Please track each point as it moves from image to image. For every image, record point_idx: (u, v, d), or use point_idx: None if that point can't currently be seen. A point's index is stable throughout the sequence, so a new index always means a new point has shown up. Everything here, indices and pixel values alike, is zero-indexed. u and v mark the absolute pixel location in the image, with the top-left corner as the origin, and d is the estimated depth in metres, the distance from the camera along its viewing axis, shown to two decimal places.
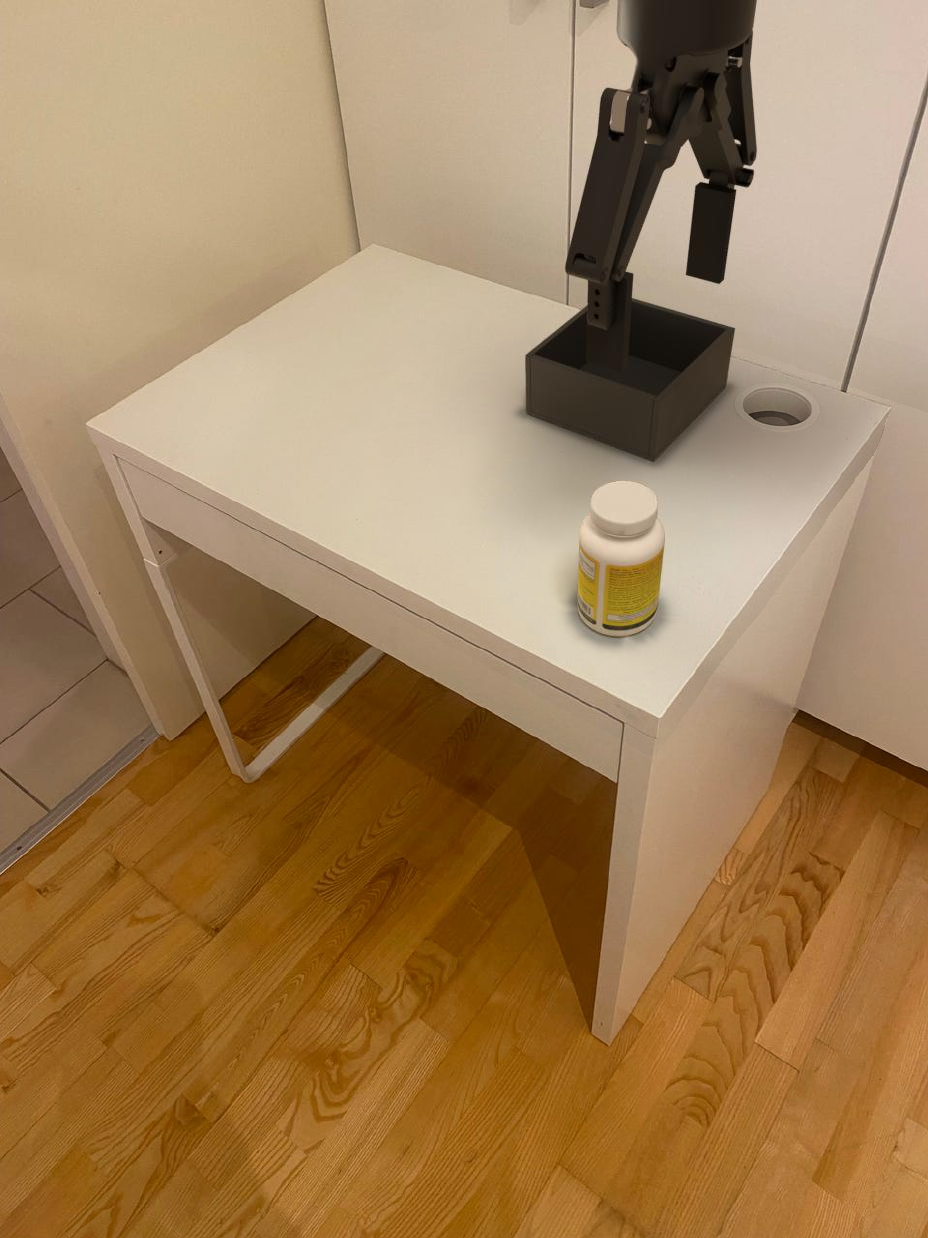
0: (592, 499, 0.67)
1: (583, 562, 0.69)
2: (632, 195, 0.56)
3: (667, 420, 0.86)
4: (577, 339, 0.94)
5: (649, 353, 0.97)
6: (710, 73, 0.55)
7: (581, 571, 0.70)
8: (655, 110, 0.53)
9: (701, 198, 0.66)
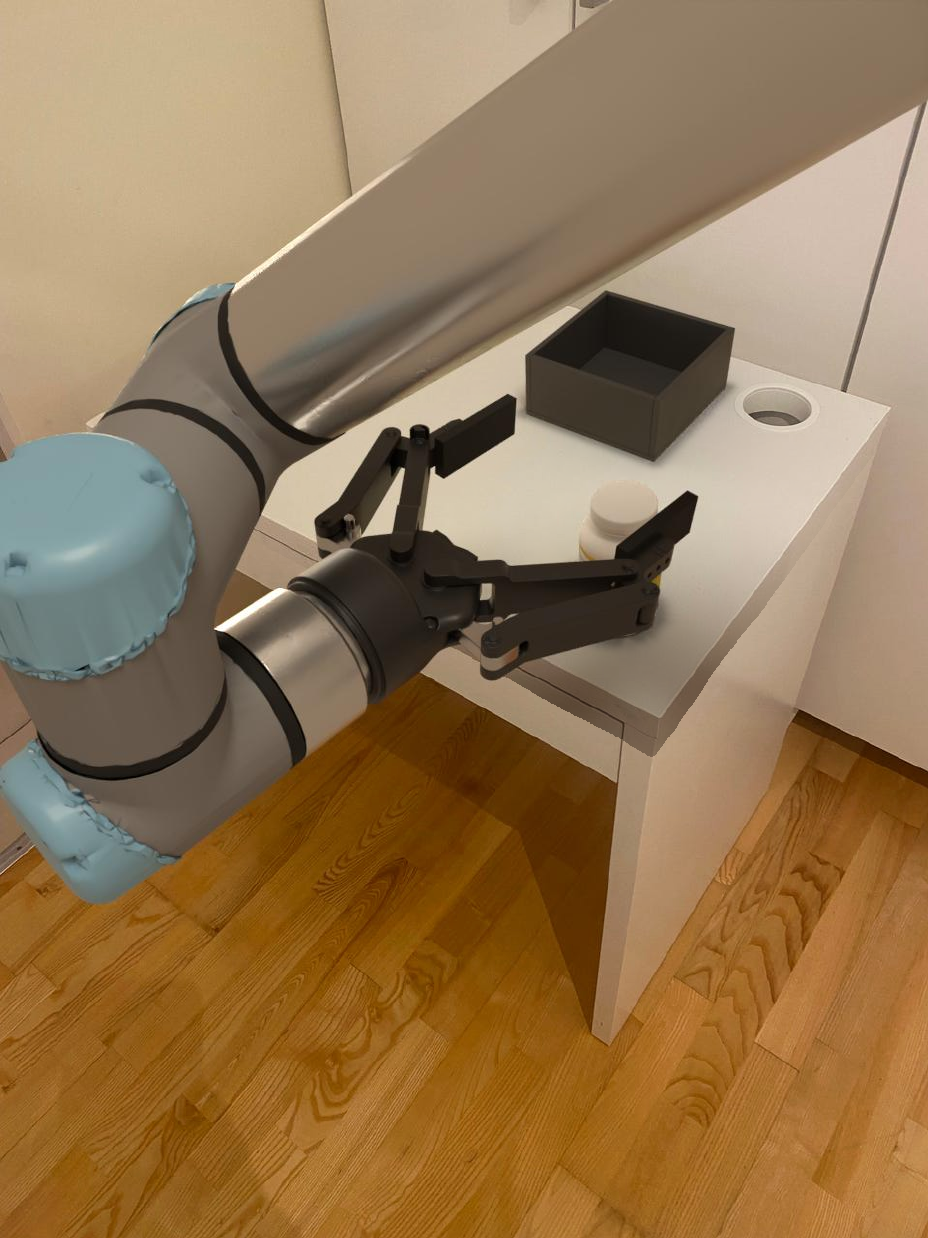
0: (592, 499, 0.67)
1: None
2: (551, 589, 0.49)
3: (667, 420, 0.86)
4: (577, 339, 0.94)
5: (649, 353, 0.97)
6: (395, 558, 0.49)
7: None
8: (473, 612, 0.48)
9: (452, 466, 0.58)
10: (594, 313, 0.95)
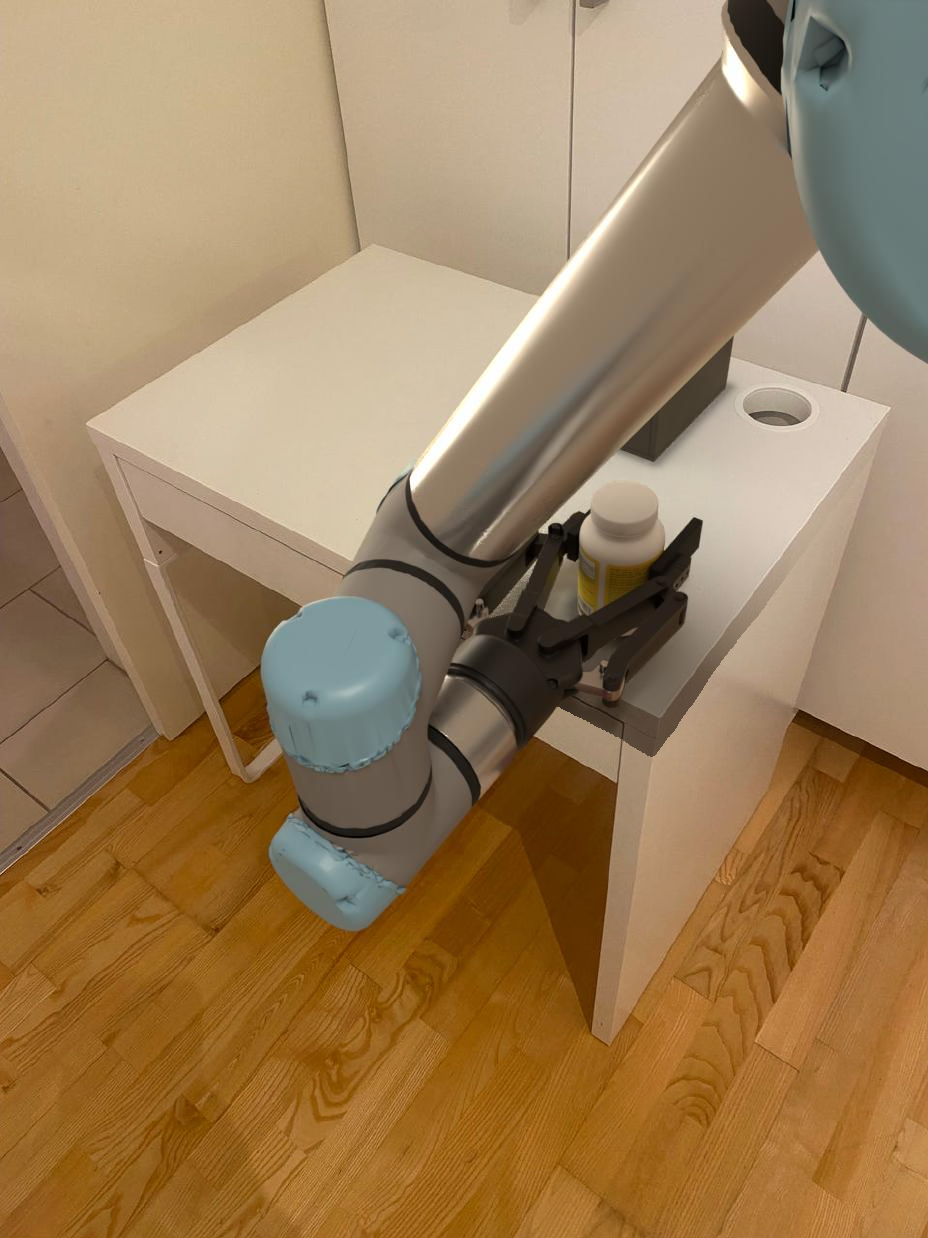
0: (592, 499, 0.67)
1: (583, 562, 0.69)
2: (621, 620, 0.65)
3: (667, 420, 0.86)
4: None
5: None
6: (509, 634, 0.64)
7: (581, 571, 0.70)
8: (582, 670, 0.62)
9: None
10: None
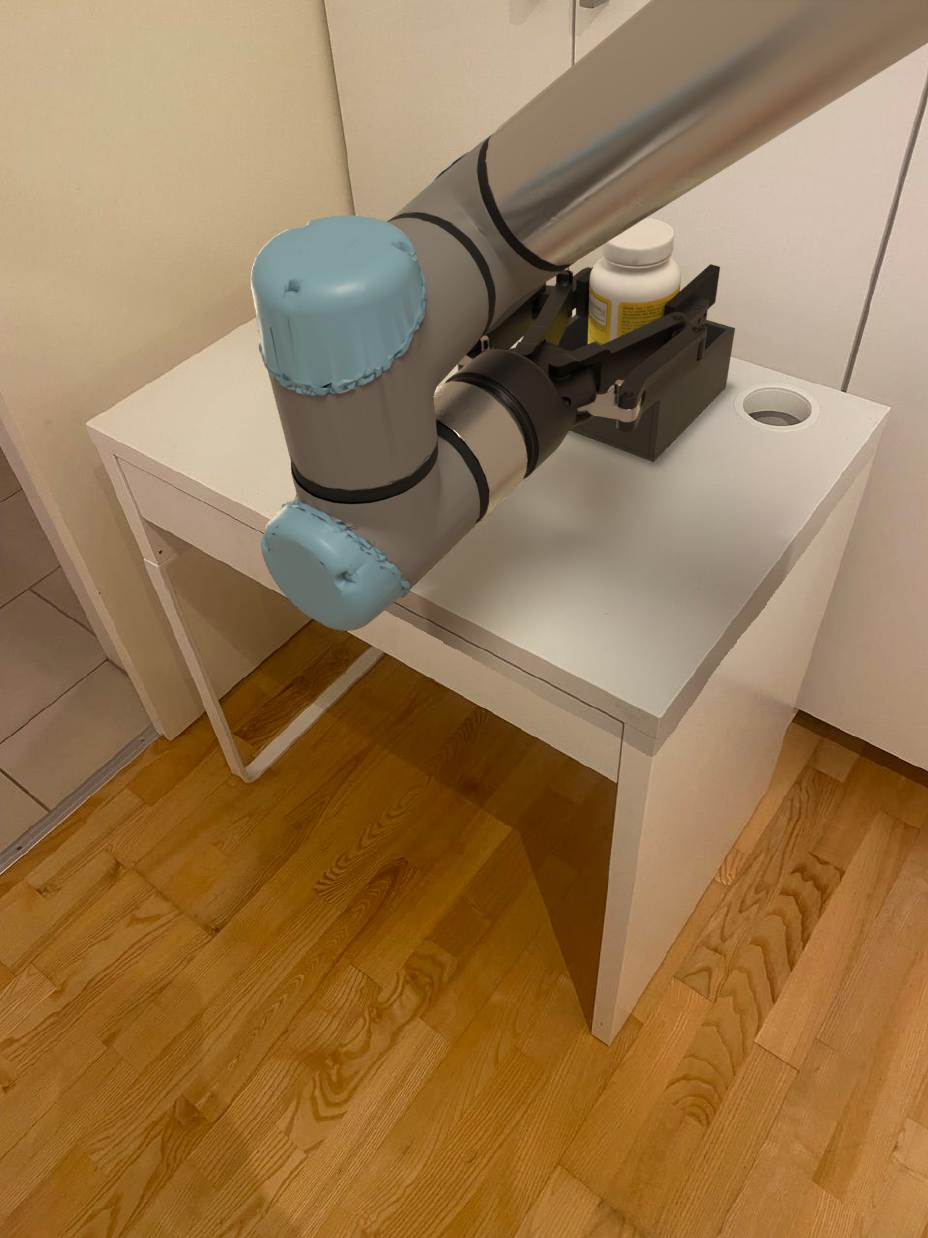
0: None
1: (594, 308, 0.65)
2: (635, 352, 0.61)
3: (667, 420, 0.86)
4: (577, 339, 0.94)
5: None
6: None
7: (591, 321, 0.66)
8: (595, 391, 0.58)
9: None
10: None
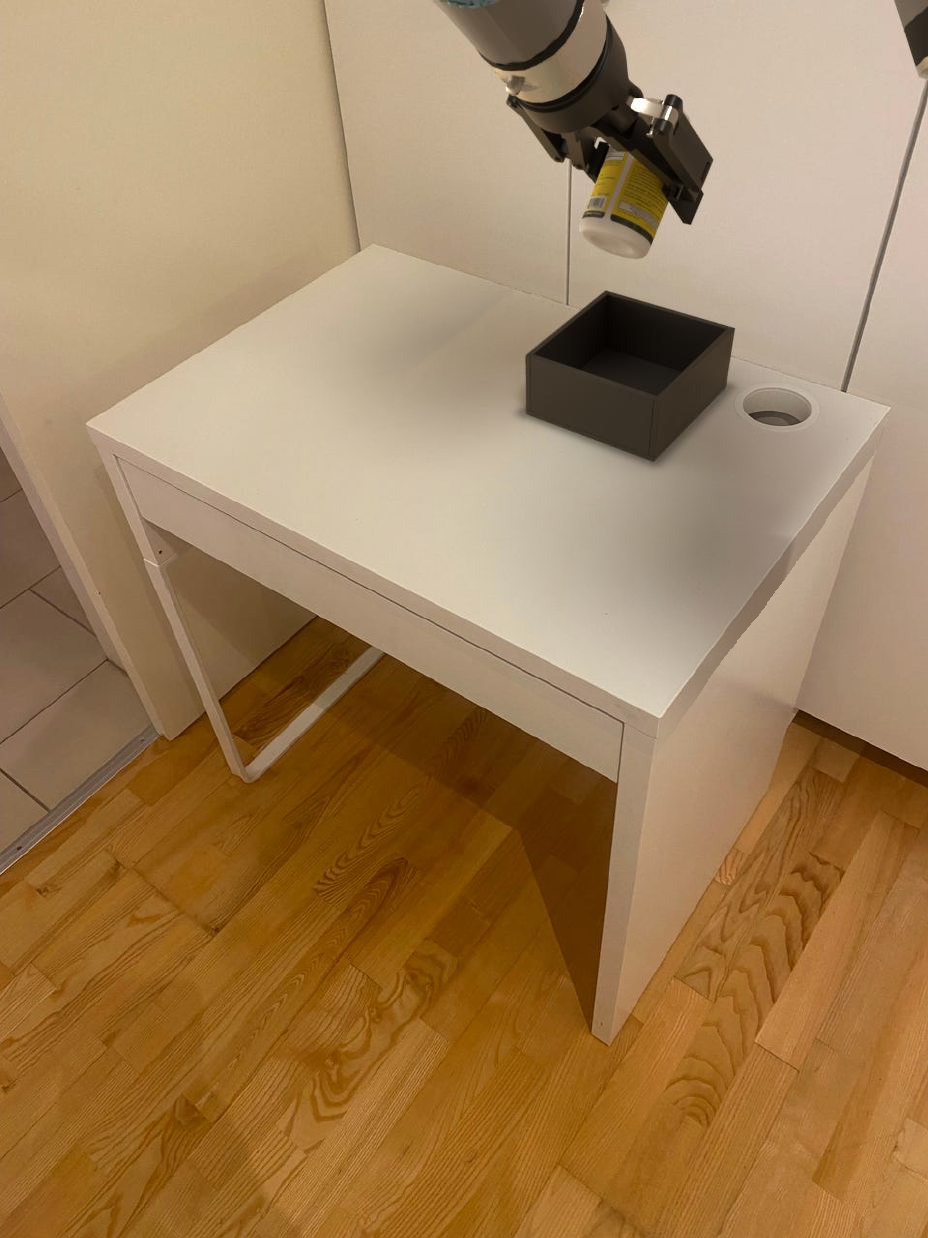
0: None
1: (614, 150, 0.77)
2: None
3: (667, 420, 0.86)
4: (577, 339, 0.94)
5: (649, 353, 0.97)
6: None
7: (606, 164, 0.77)
8: (643, 98, 0.66)
9: None
10: (594, 313, 0.95)
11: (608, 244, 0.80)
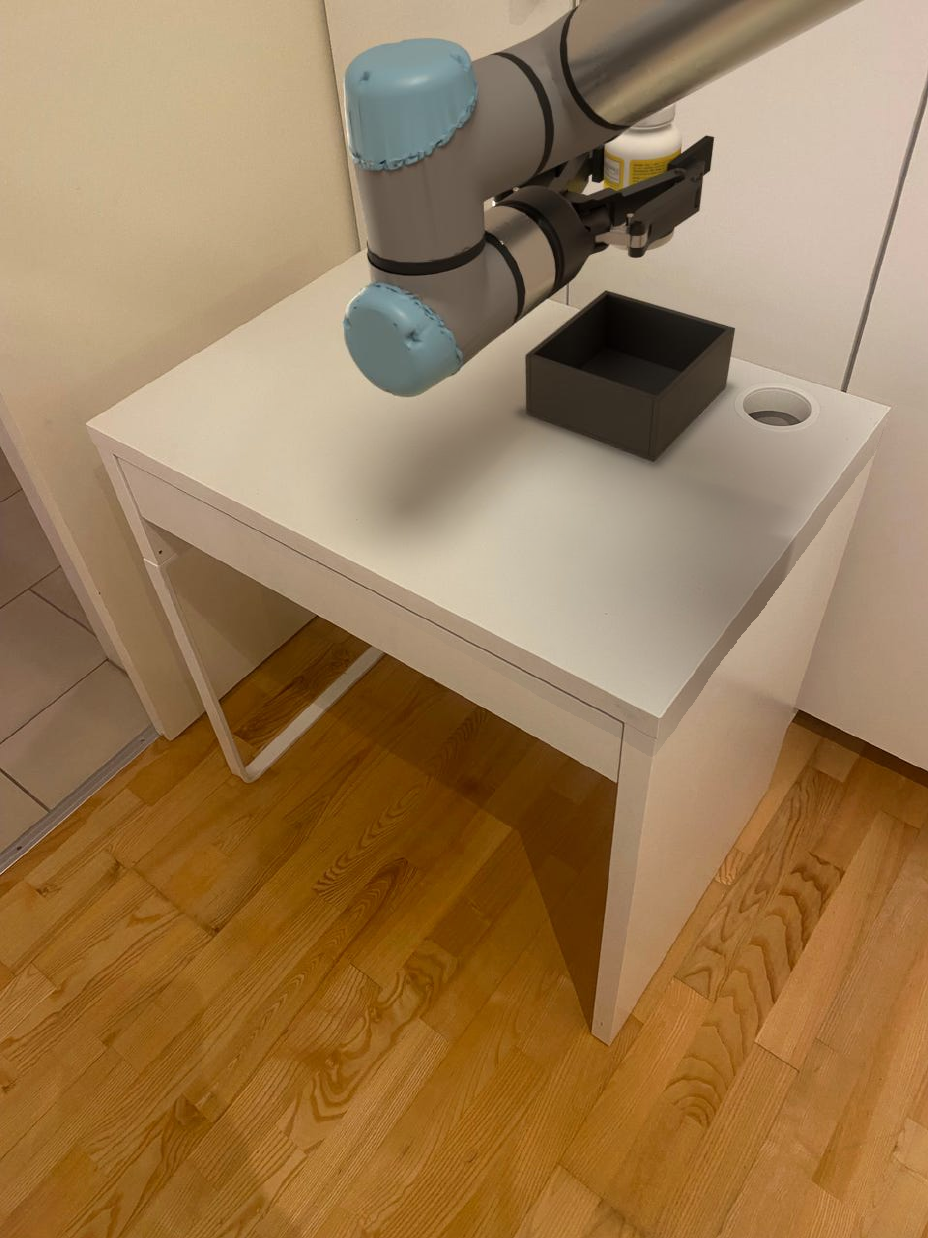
0: None
1: (608, 169, 0.78)
2: (643, 198, 0.73)
3: (667, 420, 0.86)
4: (577, 339, 0.94)
5: (649, 353, 0.97)
6: None
7: (606, 182, 0.79)
8: (610, 223, 0.70)
9: None
10: (594, 313, 0.95)
11: None
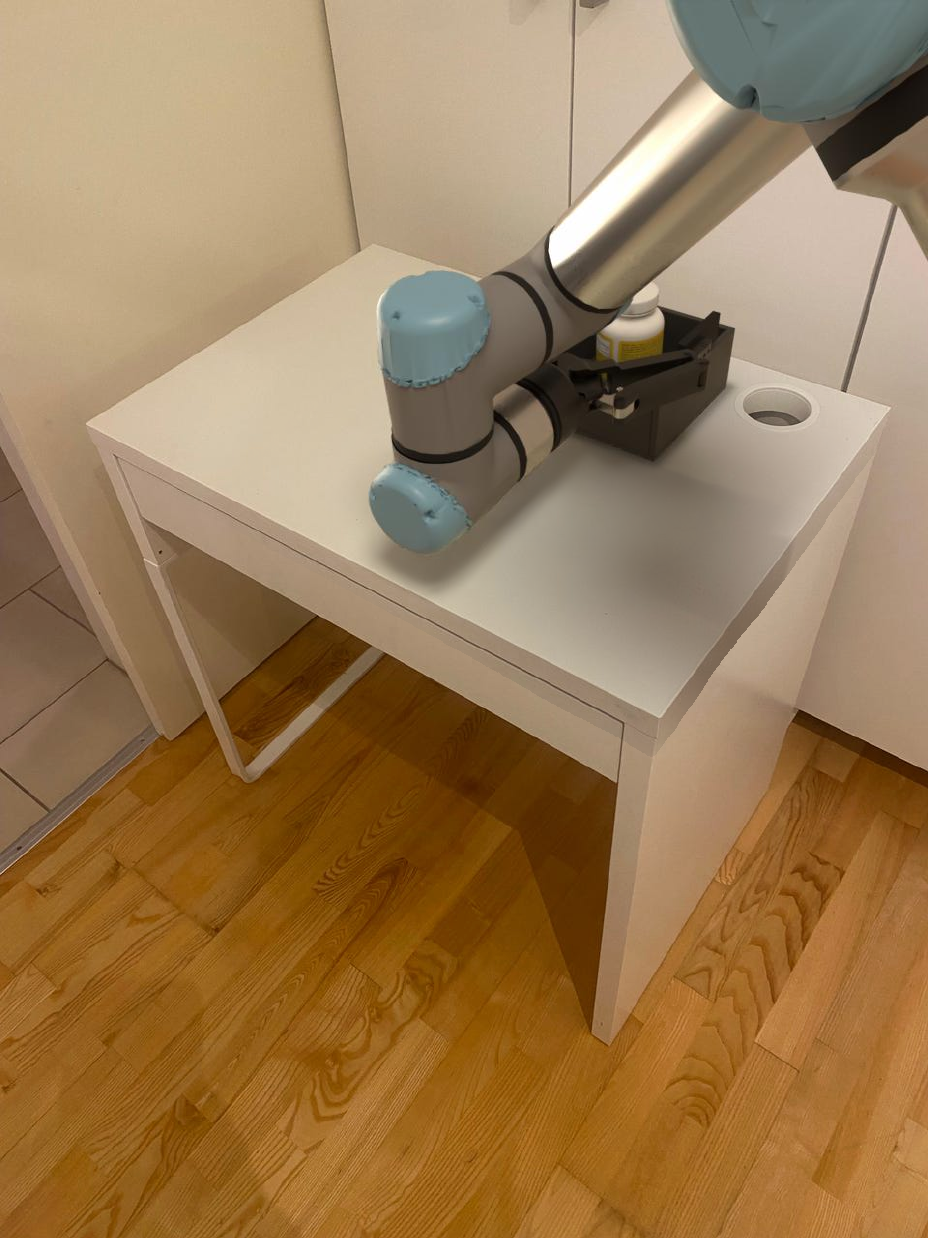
0: None
1: (600, 344, 0.89)
2: (644, 372, 0.81)
3: (667, 420, 0.86)
4: None
5: None
6: None
7: (598, 353, 0.89)
8: (603, 389, 0.80)
9: None
10: None
11: None
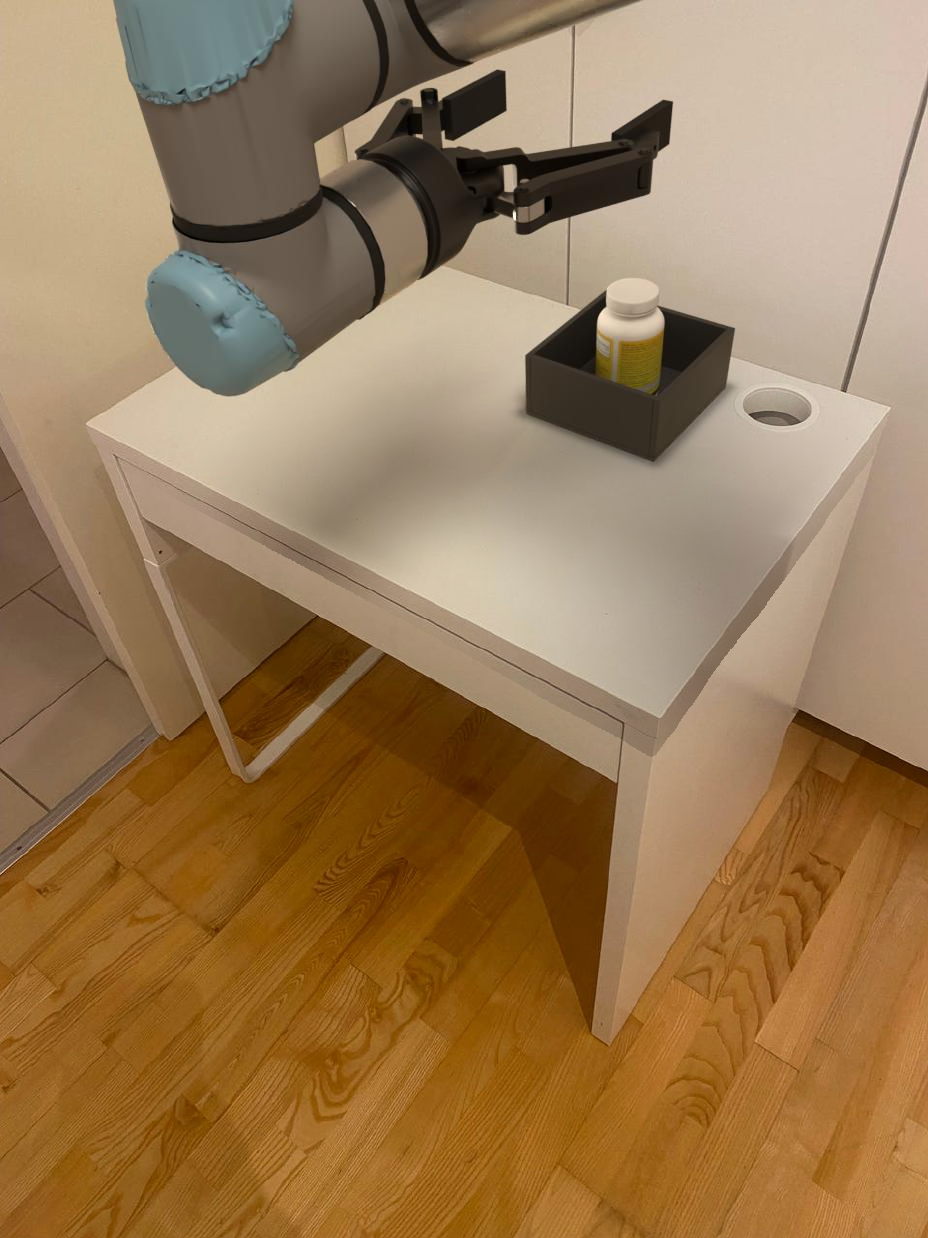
0: (608, 289, 0.86)
1: (600, 344, 0.89)
2: (562, 168, 0.59)
3: (667, 420, 0.86)
4: (577, 339, 0.94)
5: None
6: None
7: (598, 353, 0.89)
8: (502, 184, 0.57)
9: (459, 128, 0.68)
10: (594, 313, 0.95)
11: None
